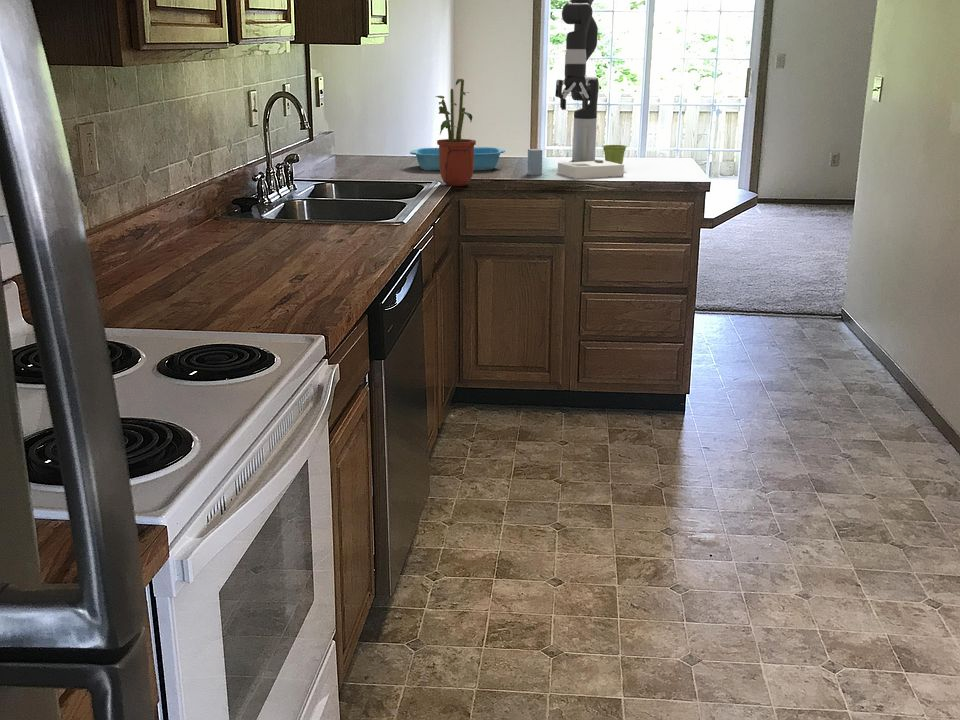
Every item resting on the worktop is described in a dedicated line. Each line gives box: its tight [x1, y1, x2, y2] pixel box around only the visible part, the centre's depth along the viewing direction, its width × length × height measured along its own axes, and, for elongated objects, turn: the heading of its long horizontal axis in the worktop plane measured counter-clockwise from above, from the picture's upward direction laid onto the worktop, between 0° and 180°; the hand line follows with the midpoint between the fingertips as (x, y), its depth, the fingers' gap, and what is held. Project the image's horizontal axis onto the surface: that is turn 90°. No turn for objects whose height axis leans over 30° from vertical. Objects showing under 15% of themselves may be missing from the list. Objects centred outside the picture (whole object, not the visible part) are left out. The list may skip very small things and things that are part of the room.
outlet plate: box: [557, 159, 625, 179], centre depth 356 cm, size 14×20×5 cm
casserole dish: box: [409, 146, 506, 171], centre depth 374 cm, size 37×22×7 cm, turn 94°
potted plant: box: [434, 78, 477, 187], centre depth 325 cm, size 17×16×35 cm
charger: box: [527, 148, 543, 176], centre depth 356 cm, size 4×4×9 cm
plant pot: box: [601, 144, 628, 165], centre depth 373 cm, size 9×9×9 cm
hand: (573, 109), depth 349 cm, fingers open, 8 cm apart
